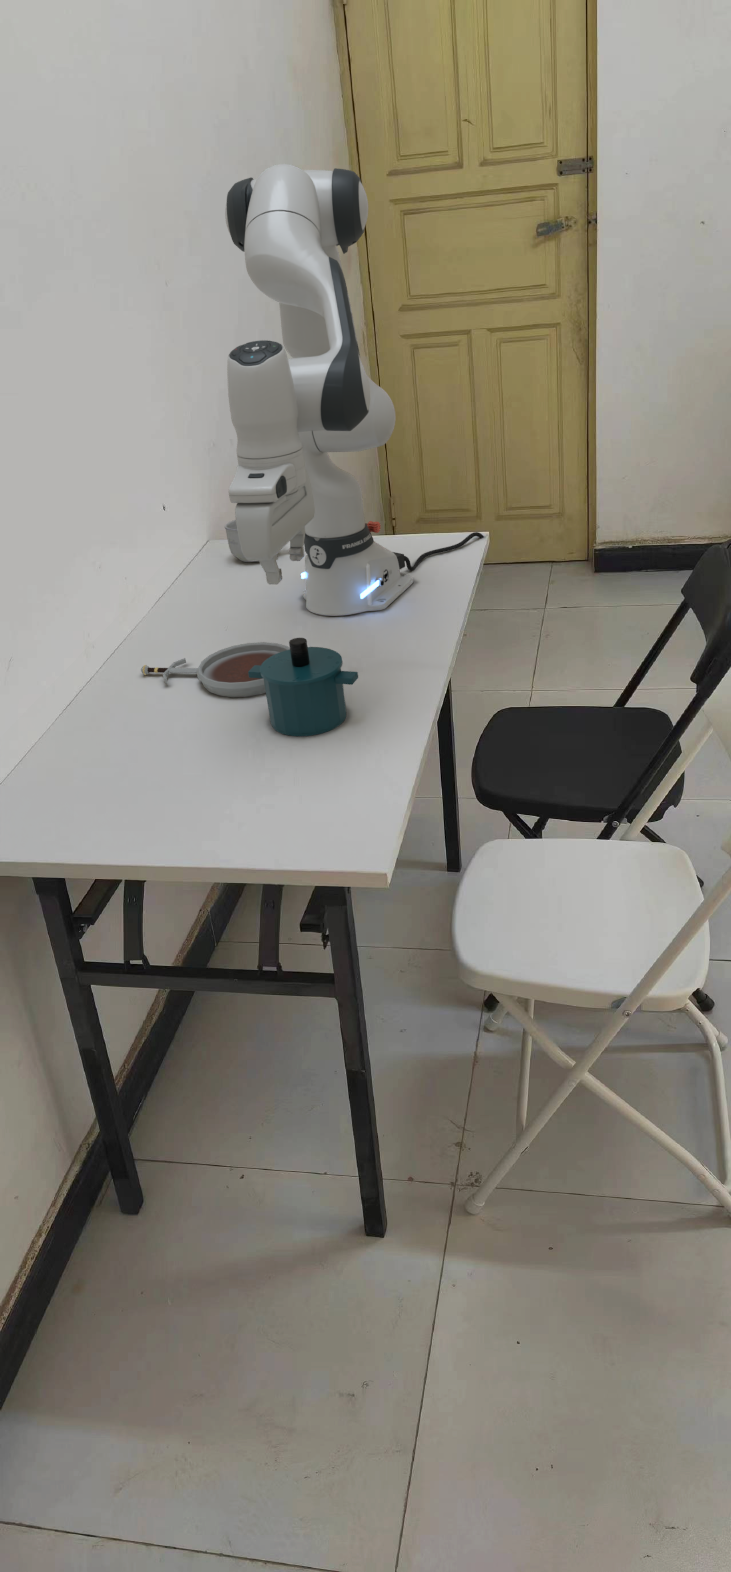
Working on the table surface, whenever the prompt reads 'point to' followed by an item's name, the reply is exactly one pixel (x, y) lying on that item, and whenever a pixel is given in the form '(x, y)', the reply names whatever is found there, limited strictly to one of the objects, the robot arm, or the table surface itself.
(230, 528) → the teacup
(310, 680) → the lid
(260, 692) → the frying pan
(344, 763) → the table surface
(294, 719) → the pot
